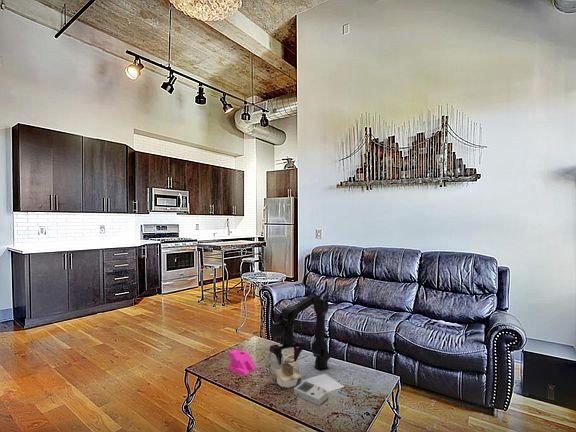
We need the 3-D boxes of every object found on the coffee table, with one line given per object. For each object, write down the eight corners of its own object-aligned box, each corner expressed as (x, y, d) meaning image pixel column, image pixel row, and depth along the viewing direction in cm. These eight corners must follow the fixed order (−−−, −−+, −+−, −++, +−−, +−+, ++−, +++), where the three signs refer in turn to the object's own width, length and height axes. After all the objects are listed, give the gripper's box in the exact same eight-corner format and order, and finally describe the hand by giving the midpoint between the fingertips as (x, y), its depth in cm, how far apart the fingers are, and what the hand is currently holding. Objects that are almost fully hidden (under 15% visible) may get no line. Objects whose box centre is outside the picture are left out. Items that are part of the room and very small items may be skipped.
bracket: (228, 370, 182) (229, 352, 182) (240, 364, 190) (241, 346, 191) (245, 376, 175) (245, 357, 175) (257, 369, 184) (257, 351, 184)
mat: (324, 374, 179) (324, 373, 179) (344, 387, 165) (344, 386, 165) (300, 381, 171) (300, 380, 171) (318, 396, 157) (318, 394, 157)
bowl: (290, 376, 176) (290, 368, 176) (300, 385, 167) (300, 376, 167) (274, 381, 170) (274, 372, 171) (283, 390, 162) (284, 381, 162)
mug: (277, 375, 178) (277, 353, 178) (262, 368, 186) (263, 347, 186) (287, 370, 183) (287, 349, 183) (272, 363, 191) (272, 343, 191)
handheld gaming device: (318, 407, 148) (318, 399, 148) (293, 395, 157) (293, 387, 157) (329, 397, 155) (329, 390, 154) (304, 387, 164) (304, 379, 164)
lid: (291, 367, 177) (291, 358, 177) (303, 376, 167) (303, 367, 167) (271, 372, 171) (272, 363, 171) (283, 382, 161) (283, 372, 161)
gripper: (294, 326, 181) (294, 354, 181) (264, 331, 171) (264, 361, 171) (306, 332, 171) (305, 362, 171) (275, 338, 162) (274, 369, 161)
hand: (287, 363), depth 169 cm, fingers open, 9 cm apart
